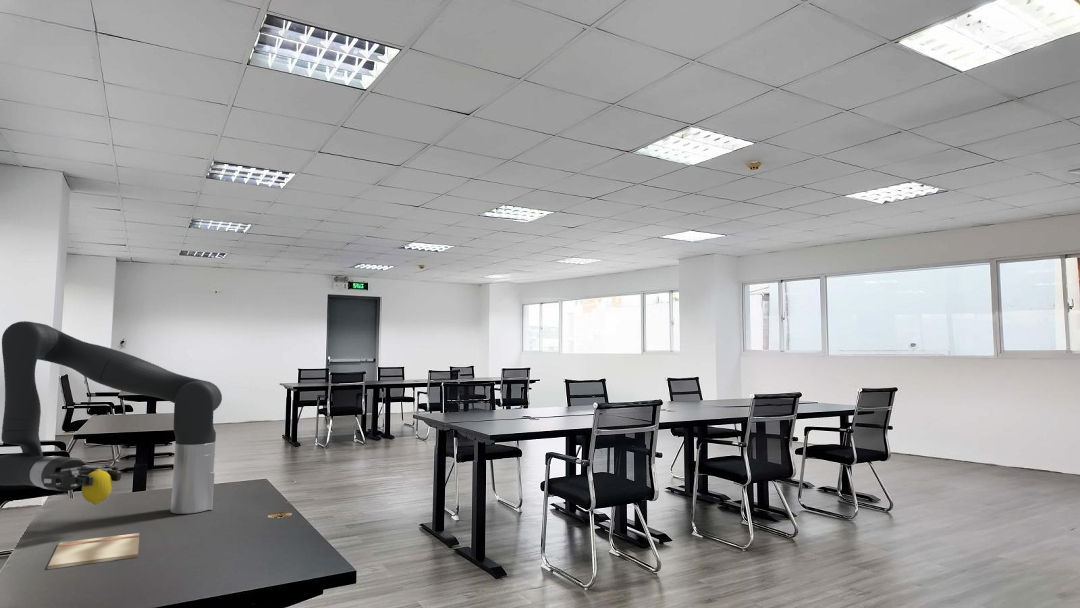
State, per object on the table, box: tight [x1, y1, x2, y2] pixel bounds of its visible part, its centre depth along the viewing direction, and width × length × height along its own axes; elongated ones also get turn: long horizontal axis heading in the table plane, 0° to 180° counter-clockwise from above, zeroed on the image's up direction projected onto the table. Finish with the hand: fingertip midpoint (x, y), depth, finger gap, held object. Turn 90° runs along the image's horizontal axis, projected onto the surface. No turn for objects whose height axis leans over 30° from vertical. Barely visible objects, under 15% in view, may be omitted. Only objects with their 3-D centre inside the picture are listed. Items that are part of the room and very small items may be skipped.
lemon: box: [81, 469, 113, 506], centre depth 136 cm, size 6×6×8 cm
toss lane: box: [46, 532, 140, 570], centre depth 123 cm, size 14×18×1 cm
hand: (105, 478), depth 135 cm, fingers closed on lemon, 5 cm apart
